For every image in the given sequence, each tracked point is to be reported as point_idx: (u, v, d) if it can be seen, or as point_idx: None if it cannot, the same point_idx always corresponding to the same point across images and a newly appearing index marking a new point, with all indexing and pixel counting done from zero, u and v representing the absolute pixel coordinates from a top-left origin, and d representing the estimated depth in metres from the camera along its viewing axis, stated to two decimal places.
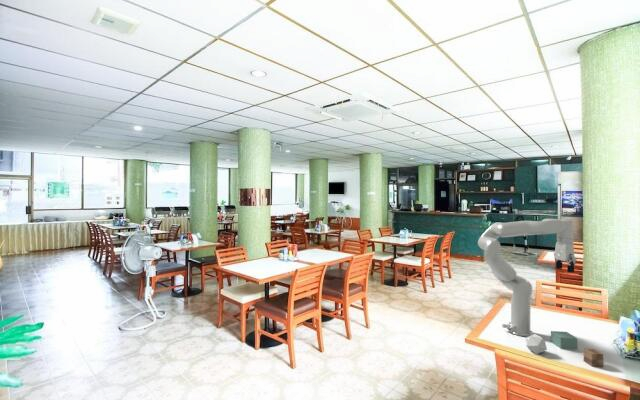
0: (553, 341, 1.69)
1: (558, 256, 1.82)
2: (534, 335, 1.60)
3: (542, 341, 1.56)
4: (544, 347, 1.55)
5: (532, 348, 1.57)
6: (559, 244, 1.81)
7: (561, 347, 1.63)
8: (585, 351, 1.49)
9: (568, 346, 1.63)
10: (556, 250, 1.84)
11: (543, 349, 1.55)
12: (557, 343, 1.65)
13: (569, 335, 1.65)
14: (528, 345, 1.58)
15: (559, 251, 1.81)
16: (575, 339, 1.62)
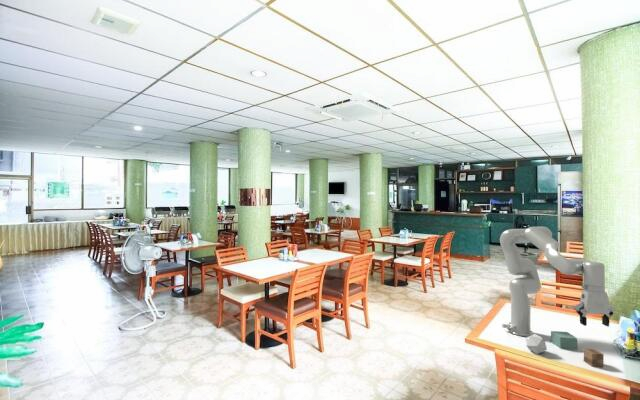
0: (553, 341, 1.69)
1: (597, 309, 1.45)
2: (534, 335, 1.60)
3: (542, 341, 1.56)
4: (544, 347, 1.55)
5: (532, 348, 1.57)
6: (597, 294, 1.45)
7: (561, 347, 1.63)
8: (585, 351, 1.49)
9: (568, 346, 1.63)
10: (591, 303, 1.45)
11: (543, 349, 1.55)
12: (557, 343, 1.65)
13: (569, 335, 1.65)
14: (528, 345, 1.58)
15: (598, 303, 1.45)
16: (575, 339, 1.62)
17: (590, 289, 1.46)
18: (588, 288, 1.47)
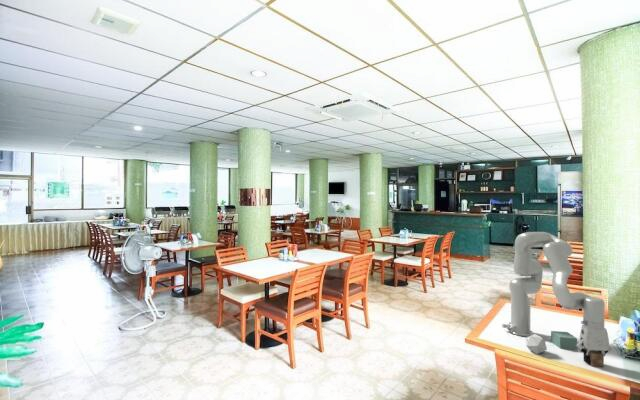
0: (553, 341, 1.69)
1: (597, 346, 1.45)
2: (534, 335, 1.60)
3: (542, 341, 1.56)
4: (544, 347, 1.55)
5: (532, 348, 1.57)
6: (597, 331, 1.45)
7: (560, 347, 1.63)
8: None
9: (568, 346, 1.63)
10: (591, 339, 1.45)
11: (543, 349, 1.55)
12: (557, 342, 1.66)
13: (569, 335, 1.65)
14: (528, 345, 1.58)
15: (597, 340, 1.45)
16: (575, 339, 1.62)
17: (590, 325, 1.46)
18: (588, 324, 1.46)
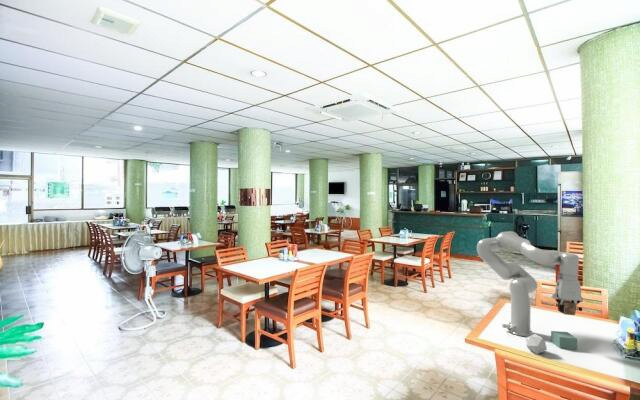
0: (553, 341, 1.69)
1: (570, 296, 1.61)
2: (534, 335, 1.60)
3: (542, 341, 1.56)
4: (544, 347, 1.55)
5: (532, 348, 1.57)
6: (571, 283, 1.61)
7: (560, 347, 1.63)
8: None
9: (568, 346, 1.63)
10: (565, 290, 1.61)
11: (543, 349, 1.55)
12: (557, 342, 1.66)
13: (569, 335, 1.65)
14: (528, 345, 1.58)
15: (571, 291, 1.61)
16: (575, 339, 1.62)
17: (564, 278, 1.62)
18: (563, 277, 1.63)
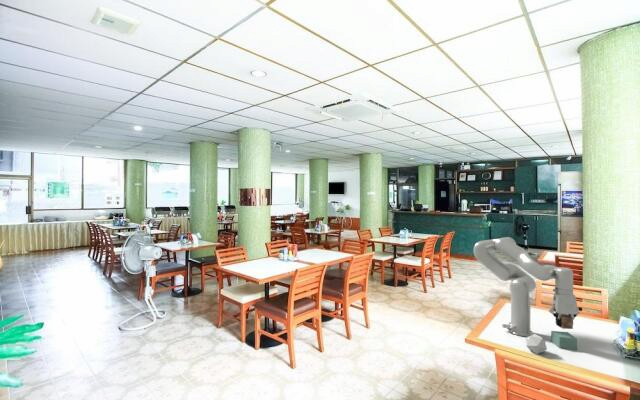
0: (553, 341, 1.69)
1: (566, 310, 1.64)
2: (534, 335, 1.60)
3: (542, 341, 1.56)
4: (544, 347, 1.55)
5: (532, 348, 1.57)
6: (567, 297, 1.64)
7: (560, 347, 1.63)
8: None
9: (568, 346, 1.63)
10: (561, 304, 1.64)
11: (543, 349, 1.55)
12: (556, 342, 1.66)
13: (569, 335, 1.65)
14: (528, 345, 1.58)
15: (567, 305, 1.64)
16: (575, 339, 1.62)
17: (560, 292, 1.65)
18: (559, 291, 1.66)
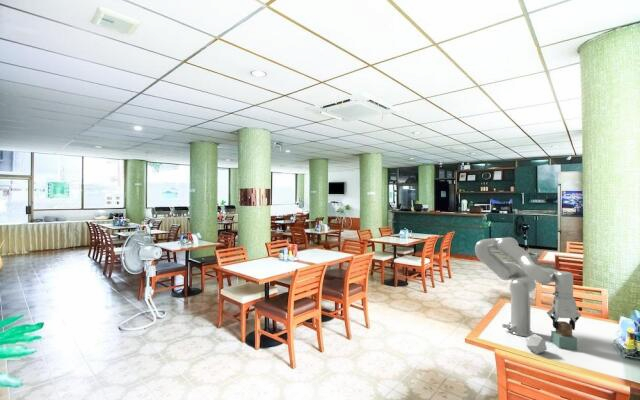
0: (553, 341, 1.69)
1: (566, 314, 1.64)
2: (534, 335, 1.60)
3: (542, 341, 1.56)
4: (544, 347, 1.55)
5: (532, 348, 1.57)
6: (566, 301, 1.64)
7: (560, 347, 1.63)
8: None
9: (567, 346, 1.63)
10: (561, 308, 1.64)
11: (543, 349, 1.55)
12: (556, 342, 1.66)
13: None
14: (528, 345, 1.58)
15: (567, 308, 1.64)
16: (575, 339, 1.62)
17: (560, 296, 1.65)
18: (558, 295, 1.66)
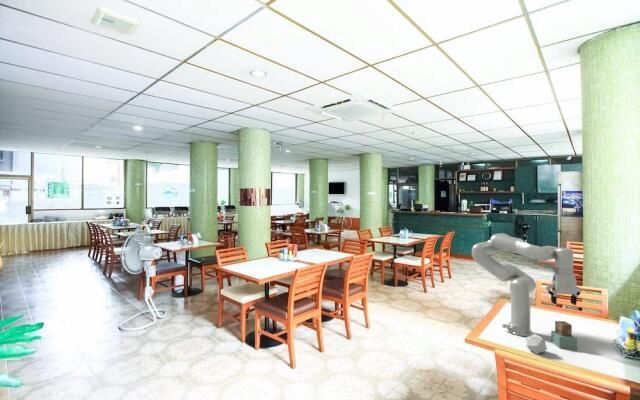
0: (553, 341, 1.69)
1: (566, 289, 1.64)
2: (534, 335, 1.60)
3: (542, 341, 1.56)
4: (544, 347, 1.55)
5: (532, 348, 1.57)
6: (566, 277, 1.64)
7: (560, 347, 1.63)
8: (556, 323, 1.68)
9: (568, 346, 1.63)
10: (561, 284, 1.64)
11: (543, 349, 1.55)
12: (556, 342, 1.66)
13: None
14: (528, 345, 1.58)
15: (567, 284, 1.64)
16: (575, 339, 1.62)
17: (560, 272, 1.65)
18: (558, 271, 1.66)
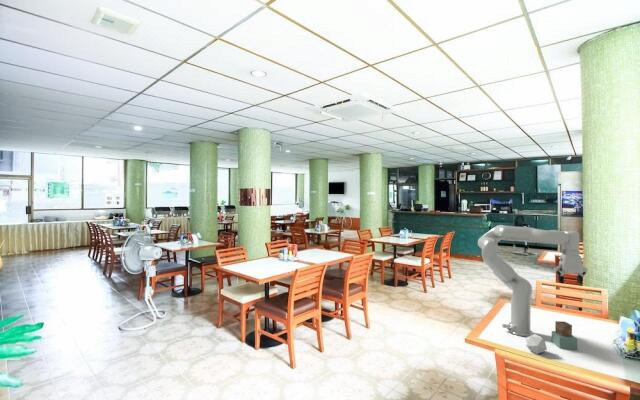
0: (553, 341, 1.69)
1: (572, 269, 1.75)
2: (534, 335, 1.60)
3: (542, 341, 1.56)
4: (544, 347, 1.55)
5: (532, 348, 1.57)
6: (573, 257, 1.75)
7: (560, 347, 1.63)
8: (557, 323, 1.68)
9: (568, 346, 1.63)
10: (568, 264, 1.75)
11: (543, 349, 1.55)
12: (557, 342, 1.66)
13: None
14: (528, 345, 1.58)
15: (573, 264, 1.75)
16: (575, 339, 1.62)
17: (567, 253, 1.76)
18: (565, 252, 1.77)
